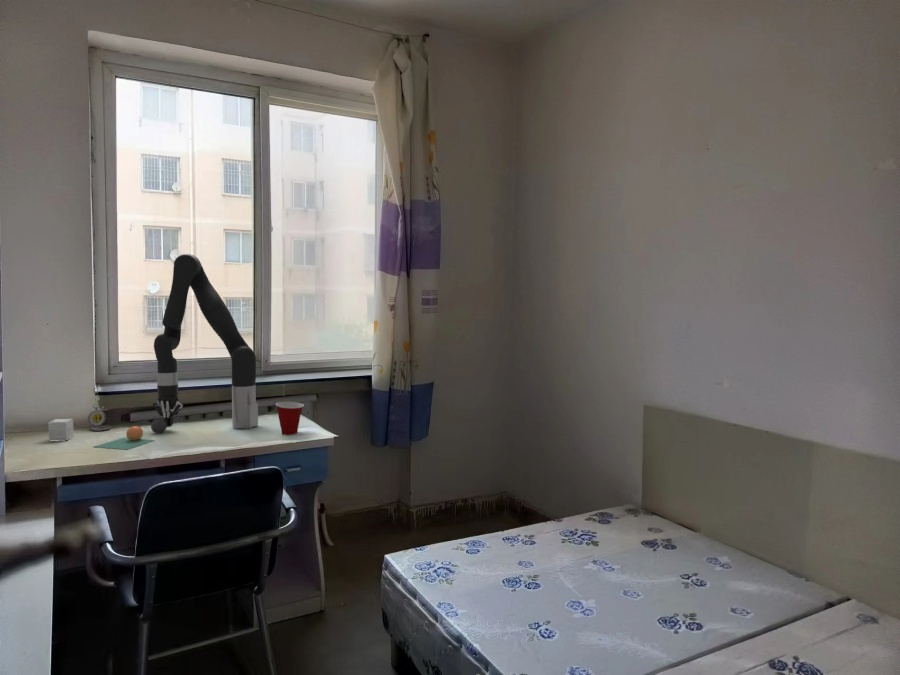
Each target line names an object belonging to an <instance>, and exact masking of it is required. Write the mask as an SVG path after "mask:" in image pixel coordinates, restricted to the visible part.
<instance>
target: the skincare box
mask: <svg viewBox="0 0 900 675" xmlns="http://www.w3.org/2000/svg"><path fill="white" fill-rule="evenodd" d="M47 425H48V441H49V440H60V441H59V442H62V441H61V440H68V439H70V438H72V437H74V438H75V436H74V435H75V432H74V431H75V430H74V419H73V418H55V419H53V420H51V421H49V422H47ZM72 439H73V438H72ZM70 440H71V439H70ZM68 441H69V440H68Z"/></svg>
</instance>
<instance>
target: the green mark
mask: <svg viewBox="0 0 900 675" xmlns="http://www.w3.org/2000/svg"><path fill="white" fill-rule="evenodd" d="M154 440H155V439H146V438H145V439H144V438H141V439H139V440H137V441H131V440H129V439H128V438H127V437H121V438H118V439H114V440H111V441H108V442H105V443H100V444H98V445H93V448H98V447H102V448H101V449H110V448H112V450H124V451H125V450H126V451H128V450H130V449H134V448H137V447H140V446H143V444H144V445H147V444H149V442H150V443H151V442H152V441H153V442H155V441H154ZM146 443H147V444H146Z"/></svg>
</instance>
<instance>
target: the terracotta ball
mask: <svg viewBox="0 0 900 675" xmlns="http://www.w3.org/2000/svg"><path fill="white" fill-rule="evenodd" d="M125 433H126V438H128V439H129V440H131V441H137V440H139V439H142V437H143V435H144V430H143V428H141V427H140V426H137V425H132V426H130V427H129V428H128V429H127V430H126V432H125Z"/></svg>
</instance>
